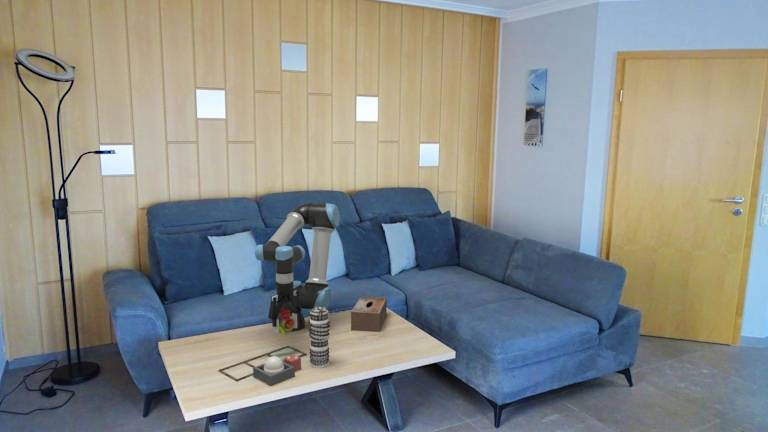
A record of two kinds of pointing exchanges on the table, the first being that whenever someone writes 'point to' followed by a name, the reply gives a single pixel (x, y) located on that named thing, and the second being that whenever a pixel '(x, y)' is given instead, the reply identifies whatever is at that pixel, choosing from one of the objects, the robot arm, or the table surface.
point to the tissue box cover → (369, 314)
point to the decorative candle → (319, 337)
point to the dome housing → (290, 367)
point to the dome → (273, 365)
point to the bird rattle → (286, 322)
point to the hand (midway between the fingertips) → (285, 330)
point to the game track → (279, 353)
